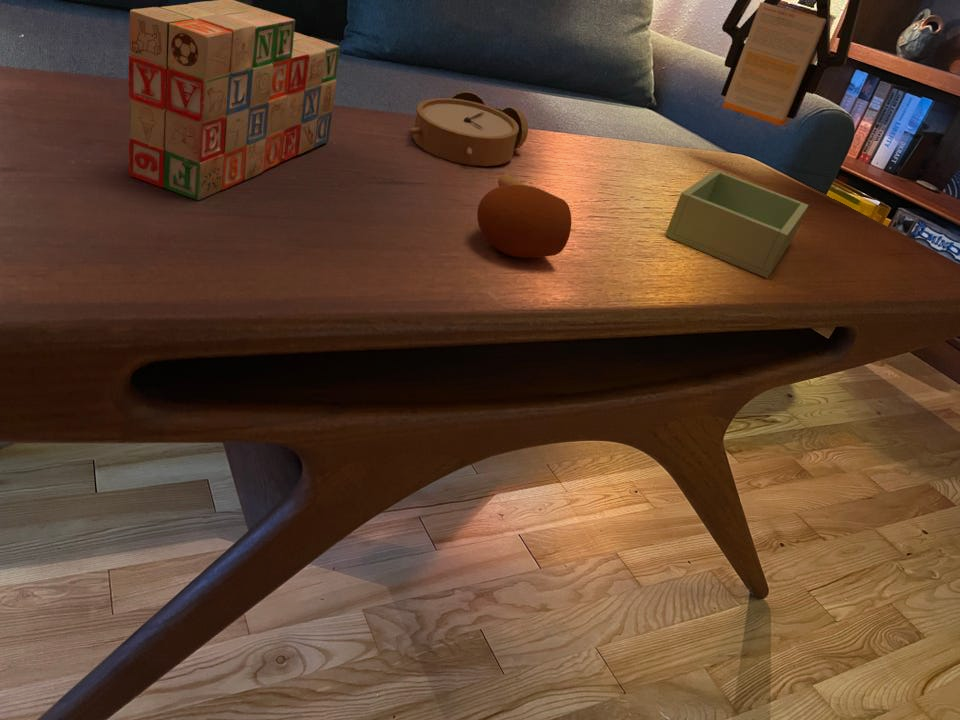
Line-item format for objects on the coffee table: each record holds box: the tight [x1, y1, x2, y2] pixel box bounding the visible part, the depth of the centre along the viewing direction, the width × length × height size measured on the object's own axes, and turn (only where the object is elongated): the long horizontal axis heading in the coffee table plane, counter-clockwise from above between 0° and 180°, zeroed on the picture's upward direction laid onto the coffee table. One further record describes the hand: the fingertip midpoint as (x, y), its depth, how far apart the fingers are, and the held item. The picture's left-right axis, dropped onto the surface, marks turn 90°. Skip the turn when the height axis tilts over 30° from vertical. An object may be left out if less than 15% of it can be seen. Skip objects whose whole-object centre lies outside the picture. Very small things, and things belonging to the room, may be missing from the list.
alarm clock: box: [408, 91, 529, 167], centre depth 86 cm, size 11×5×15 cm
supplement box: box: [722, 1, 826, 127], centre depth 99 cm, size 8×5×13 cm, turn 58°
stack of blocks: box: [127, 0, 341, 201], centre depth 65 cm, size 21×6×12 cm, turn 162°
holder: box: [664, 169, 809, 279], centre depth 80 cm, size 11×14×5 cm
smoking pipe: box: [476, 173, 572, 259], centre depth 69 cm, size 7×18×6 cm, turn 7°
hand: (758, 105), depth 102 cm, fingers closed on supplement box, 8 cm apart
